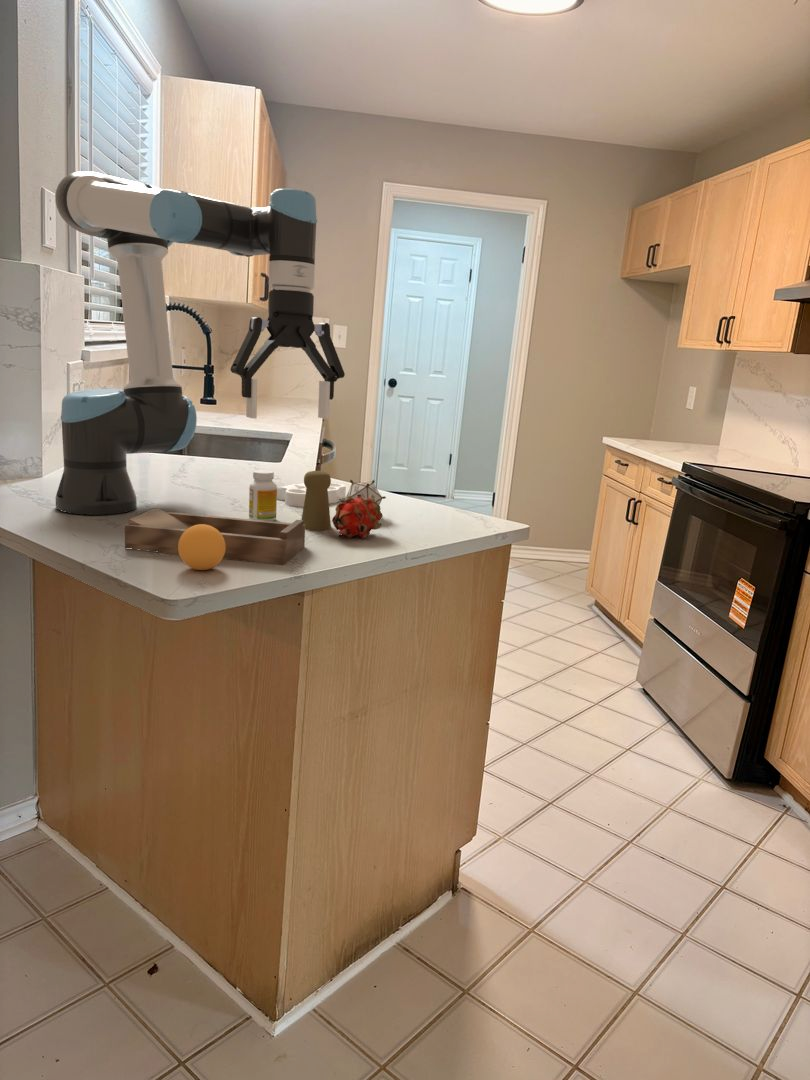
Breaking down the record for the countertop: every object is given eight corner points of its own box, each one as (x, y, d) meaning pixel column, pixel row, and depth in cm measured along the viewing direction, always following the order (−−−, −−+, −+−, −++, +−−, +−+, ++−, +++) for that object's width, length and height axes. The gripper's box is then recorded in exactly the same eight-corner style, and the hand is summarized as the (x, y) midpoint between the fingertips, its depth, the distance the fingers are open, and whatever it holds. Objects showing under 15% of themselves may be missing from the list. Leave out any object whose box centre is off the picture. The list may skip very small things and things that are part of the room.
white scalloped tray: (311, 492, 189) (359, 501, 182) (260, 501, 174) (310, 511, 167) (311, 478, 188) (360, 487, 181) (260, 486, 174) (310, 496, 166)
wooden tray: (124, 548, 127) (123, 519, 126) (157, 532, 139) (157, 505, 138) (284, 564, 124) (285, 534, 122) (304, 546, 136) (305, 518, 134)
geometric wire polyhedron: (367, 537, 161) (377, 505, 154) (331, 519, 162) (340, 487, 154) (384, 511, 167) (395, 479, 160) (350, 493, 168) (359, 461, 160)
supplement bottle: (281, 519, 156) (282, 471, 153) (266, 523, 151) (267, 474, 149) (259, 515, 158) (260, 468, 156) (243, 519, 153) (244, 471, 151)
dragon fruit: (381, 540, 150) (339, 559, 142) (354, 509, 153) (310, 526, 144) (400, 511, 145) (357, 529, 136) (371, 480, 147) (327, 495, 139)
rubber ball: (170, 573, 115) (170, 527, 114) (189, 561, 122) (189, 518, 120) (215, 577, 114) (215, 531, 113) (231, 565, 121) (232, 522, 120)
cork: (336, 526, 153) (338, 471, 150) (323, 531, 147) (325, 475, 145) (308, 522, 155) (310, 467, 152) (294, 527, 149) (296, 471, 147)
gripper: (227, 281, 119) (226, 419, 124) (367, 296, 133) (361, 420, 138) (211, 283, 126) (211, 415, 130) (346, 297, 139) (341, 416, 144)
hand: (288, 418), depth 134 cm, fingers open, 13 cm apart
